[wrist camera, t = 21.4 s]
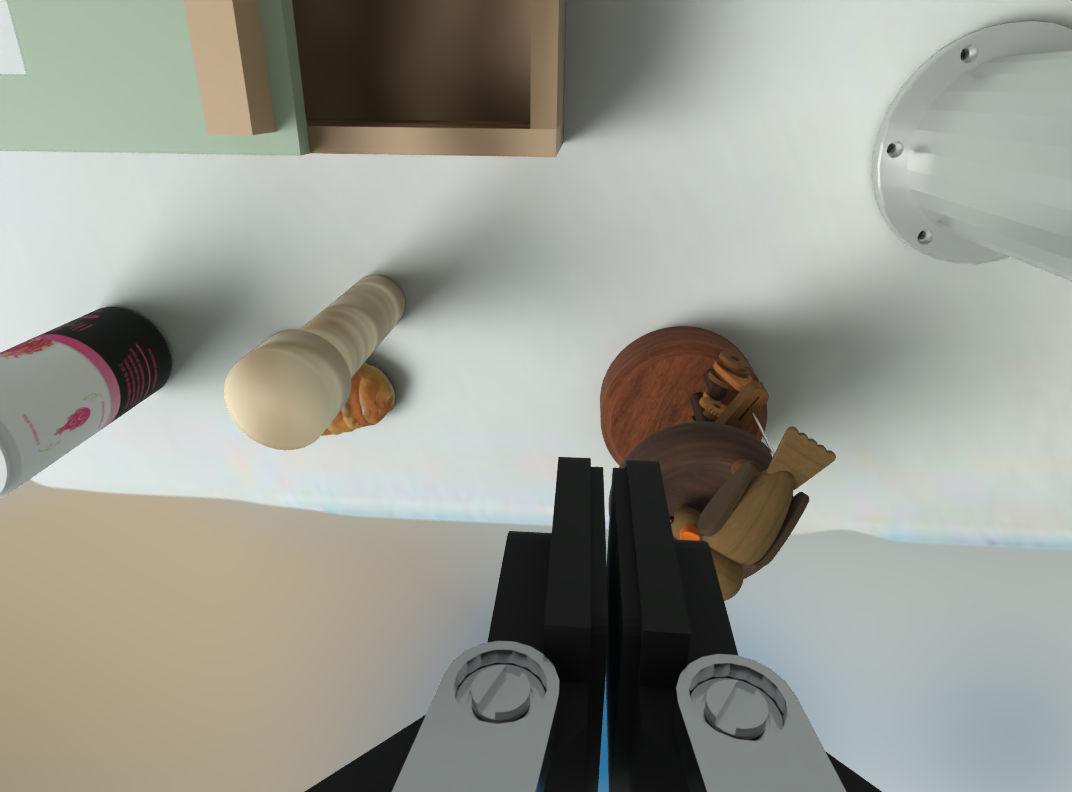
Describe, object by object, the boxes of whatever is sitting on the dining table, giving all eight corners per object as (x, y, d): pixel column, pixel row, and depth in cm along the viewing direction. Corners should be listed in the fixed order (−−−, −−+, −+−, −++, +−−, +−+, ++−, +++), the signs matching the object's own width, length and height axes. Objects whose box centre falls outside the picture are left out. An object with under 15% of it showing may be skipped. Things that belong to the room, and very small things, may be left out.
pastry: (396, 344, 46) (380, 365, 43) (399, 431, 49) (384, 458, 46) (261, 333, 47) (235, 353, 43) (271, 421, 50) (248, 446, 46)
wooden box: (568, -104, 35) (561, -163, 27) (562, 143, 40) (555, 156, 32) (194, -101, 36) (79, -156, 28) (233, 138, 41) (145, 150, 33)
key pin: (411, 266, 44) (323, 353, 29) (416, 337, 46) (335, 452, 31) (338, 265, 44) (214, 350, 30) (346, 335, 46) (234, 447, 32)
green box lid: (272, -160, 28) (230, -193, 24) (310, 153, 33) (278, 160, 29) (-186, -153, 29) (-285, -184, 26) (-83, 147, 34) (-155, 153, 31)
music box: (623, 282, 43) (693, 432, 25) (785, 321, 44) (962, 490, 26) (563, 482, 50) (583, 716, 31) (705, 511, 51) (804, 753, 33)
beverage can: (89, 289, 46) (-121, 373, 32) (183, 327, 47) (16, 425, 33) (77, 371, 49) (-122, 480, 35) (166, 406, 49) (5, 527, 36)
